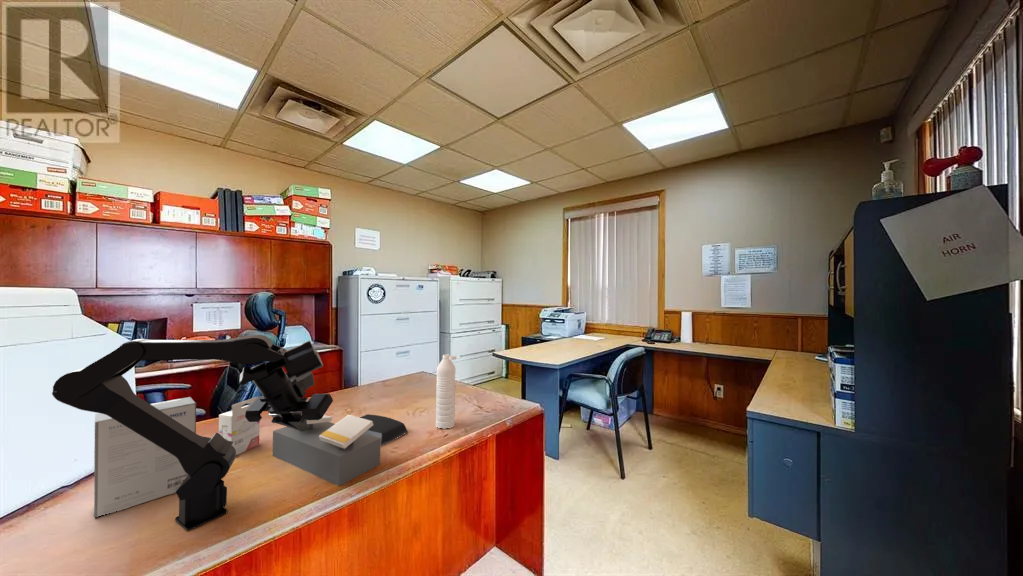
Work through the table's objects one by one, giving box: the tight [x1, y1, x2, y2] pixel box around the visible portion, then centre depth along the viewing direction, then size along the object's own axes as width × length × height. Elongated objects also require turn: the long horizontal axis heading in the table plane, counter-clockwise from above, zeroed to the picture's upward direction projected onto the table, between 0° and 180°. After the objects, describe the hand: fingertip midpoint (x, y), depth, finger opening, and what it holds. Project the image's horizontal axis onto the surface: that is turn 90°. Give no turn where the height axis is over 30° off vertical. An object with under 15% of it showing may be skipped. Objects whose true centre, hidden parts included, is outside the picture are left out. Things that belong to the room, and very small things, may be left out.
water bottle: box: [435, 353, 457, 429], centre depth 118 cm, size 9×6×25 cm
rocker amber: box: [319, 413, 373, 449], centre depth 90 cm, size 9×10×1 cm
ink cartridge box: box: [218, 396, 261, 456], centre depth 99 cm, size 9×5×15 cm, turn 168°
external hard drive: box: [359, 414, 408, 447], centre depth 112 cm, size 13×19×4 cm
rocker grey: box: [307, 414, 333, 424], centre depth 99 cm, size 9×10×1 cm
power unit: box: [272, 421, 381, 487], centre depth 94 cm, size 12×30×9 cm, turn 61°
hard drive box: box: [93, 396, 197, 518], centre depth 77 cm, size 16×8×20 cm, turn 141°
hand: (304, 429), depth 85 cm, fingers closed
